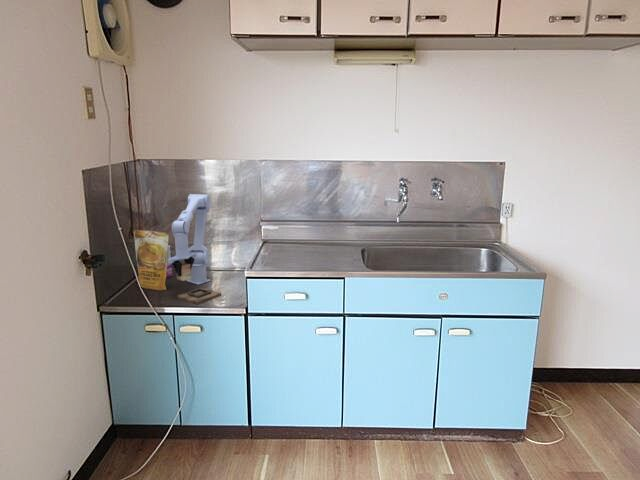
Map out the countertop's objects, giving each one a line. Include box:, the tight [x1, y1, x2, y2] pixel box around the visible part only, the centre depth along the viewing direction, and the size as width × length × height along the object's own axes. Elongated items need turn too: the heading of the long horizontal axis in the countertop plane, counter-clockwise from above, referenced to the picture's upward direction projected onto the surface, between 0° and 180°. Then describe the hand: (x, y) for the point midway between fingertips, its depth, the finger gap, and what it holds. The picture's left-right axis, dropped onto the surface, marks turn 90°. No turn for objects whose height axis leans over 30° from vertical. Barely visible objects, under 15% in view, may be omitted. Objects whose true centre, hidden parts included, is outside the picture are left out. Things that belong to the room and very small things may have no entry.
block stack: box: [176, 262, 191, 282], centre depth 220 cm, size 4×4×7 cm
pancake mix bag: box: [132, 229, 170, 291], centre depth 228 cm, size 7×19×28 cm, turn 69°
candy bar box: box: [166, 245, 174, 279], centre depth 243 cm, size 11×5×16 cm, turn 148°
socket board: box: [176, 286, 222, 305], centre depth 219 cm, size 14×14×2 cm
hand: (183, 274), depth 221 cm, fingers closed on block stack, 4 cm apart
